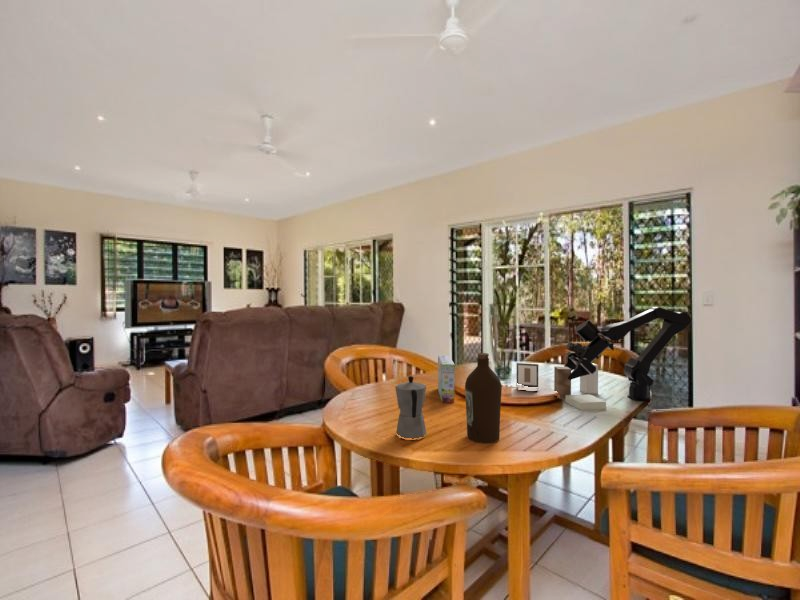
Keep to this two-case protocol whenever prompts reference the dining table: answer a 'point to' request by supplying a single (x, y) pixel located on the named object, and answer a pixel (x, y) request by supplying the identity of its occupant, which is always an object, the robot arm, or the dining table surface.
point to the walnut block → (562, 381)
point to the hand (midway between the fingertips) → (564, 376)
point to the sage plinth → (585, 402)
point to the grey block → (590, 382)
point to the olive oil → (483, 402)
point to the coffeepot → (411, 409)
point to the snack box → (446, 378)
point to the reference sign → (527, 374)
